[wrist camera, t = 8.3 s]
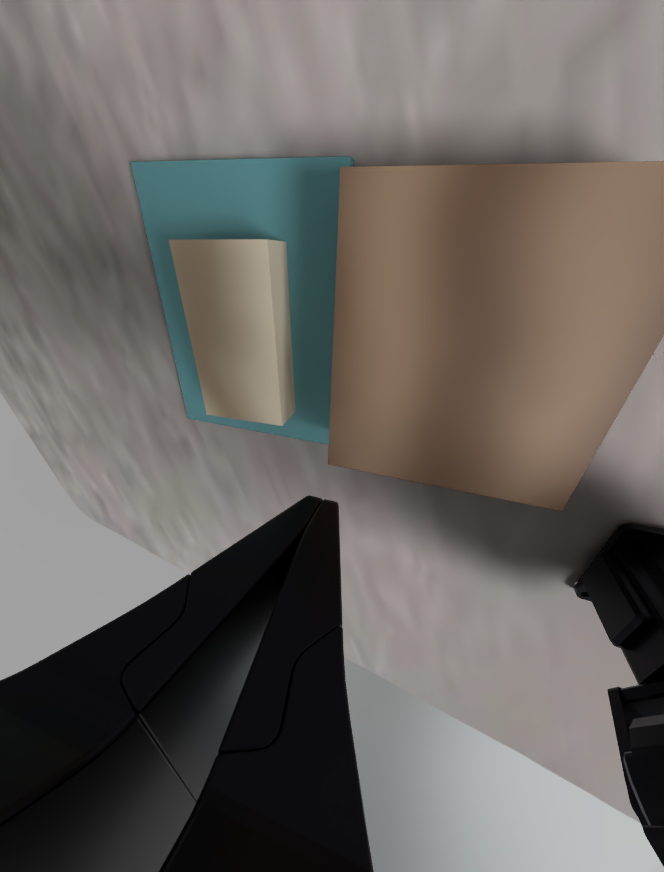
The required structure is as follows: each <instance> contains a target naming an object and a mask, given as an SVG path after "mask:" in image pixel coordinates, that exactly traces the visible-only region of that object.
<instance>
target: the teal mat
mask: <svg viewBox="0 0 664 872" xmlns="http://www.w3.org/2000/svg"><path fill="white" fill-rule="evenodd" d="M130 163H131V168H132V172H133V176H134V181H135V185H136V190H137V194H138V199H139V203H140V208H141V212H142V216H143V221H144V225H145V230H146V234H147V239H148V243H149V248H150V252H151V256H152V261H153V265H154V270H155V274H156V279H157V283H158V288H159V292H160V296H161V301H162V305H163V310H164V314H165V319H166V323H167V328H168V332H169V337H170V341H171V345H172V350H173V354H174V359H175V363H176V368H177V372H178V377H179V381H180V385H181V390H182V394H183V399H184V403H185V408H186V412H187V417H188V418H189V419H195V420H200V421H205V422H211V423H216V424H222V425H227V426H232V427H238V428H243V429H248V430H254V431H259V432H264V433H270V434H275V435H280V436H286V437H291V438H296V439H302V440H307V441H312V442H318V443H323V444H328V445H329V430H330V406H331V382H332V358H333V334H334V310H335V286H336V262H337V238H338V214H339V190H340V167H354V160H353V158H352V157H351V156H341V157H302V158H262V159H223V160H184V161H145V162H130ZM223 239H269V240H277V241H285V242H286V250H287V268H288V286H289V304H290V322H291V340H292V358H293V376H294V394H295V413H294V414H293V415H292V416H291V417H290V418H289V419H288V420H287V421H286V423H285V424H284V425H283V426H279V425H272V424H266V423H259V422H252V421H246V420H239V419H232V418H226V417H219V416H212V415H207V413H206V409H205V404H204V400H203V395H202V390H201V386H200V381H199V377H198V372H197V367H196V363H195V358H194V354H193V349H192V344H191V340H190V335H189V331H188V326H187V322H186V317H185V312H184V308H183V303H182V299H181V294H180V289H179V285H178V280H177V276H176V271H175V266H174V262H173V257H172V253H171V248H170V244H169V240H223Z"/></svg>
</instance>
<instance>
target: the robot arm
mask: <svg viewBox="0 0 664 872" xmlns="http://www.w3.org/2000/svg"><path fill="white" fill-rule="evenodd" d="M630 532H632V533H630ZM627 533H629V534H627ZM574 590H575V592H576V595H577V596H578V597H579V598H581V599H585V600H589V601H592V603H593V605H594V607H595V609H596V611H597V614H598V616H599V618H600V620H601V622H602V624H603V626H604V629H605V631H606V633H607V635H608V637H609V639H610V641H611V642H612V644H613V645H614V646H616V647H619V648H621V649H622V651H623V653H624V655H625V657H626V659H627V662H628V664H629V666H630V668H631V670H632V672H633V674H634V676H635V678H636V680H637V682H638V684H639V685H637V686H632V687H627V688H623V689H622V688H620V687H616V688H611V689H608V695H609V700H610V705H611V710H612V716H613V721H614V726H615V731H616V736H617V741H618V746H619V751H620V757H621V762H622V767H623V772H624V777H625V781H626V785H627V789H628V794H629V799H630V803H631V806H632V808H633V810H634V811H635V813H636V815H637V816H638V818H639V820H640V822H641V824H642V826H643V830H644V833H645V835H646V837H647V839H648V840H649V842H650V844H651V846H652V847H653V849H654V851H655V852H656V854H657V856H658V857H659V859H660V861H661V863H662V864H663V866H664V530H660V529H655V528H650V527H645V526H640V525H635V524H624V525H621V526H619V527H618V528H617V530H616V531H615V532H614V534H613V535H612V536H611V538H610V539H609V541H608V542H607V543H606V545H605V546H604V547H603V549H602V550H601V551H600V553H599V554H598V555H597V557H596V558H595V559H594V561H593V562H592V564H591V565H590V566H589V568H588V569H587V570H586V572H585V573H584V575H583V576H582V577H581V579H580V580H579V581H578V583H577V584H576V586H575V587H574ZM0 872H374V871H373V866H372V859H371V853H370V847H369V841H368V835H367V828H366V821H365V814H364V808H363V801H362V795H361V788H360V782H359V774H358V768H357V761H356V754H355V749H354V741H353V735H352V728H351V721H350V714H349V705H348V698H347V689H346V681H345V668H344V652H343V628H342V599H341V568H340V537H339V506H338V503H337V502H334V501H330V500H322V499H321V498H318V497H313V496H306V497H305V498H303V499H302V500H300V501H299V502H297V503H296V504H294V505H293V506H291V507H290V508H288V509H287V510H285V511H283V512H282V513H280V514H279V515H277V516H276V517H274V518H273V519H271V520H270V521H268V522H267V523H265V524H264V525H262V526H261V527H259V528H258V529H256V530H255V531H253V532H252V533H250V534H249V535H247V536H246V537H244V538H243V539H241V540H240V541H238V542H237V543H235V544H234V545H232V546H231V547H229V548H227V549H226V550H224V551H223V552H221V553H220V554H218V555H217V556H215V557H214V558H212V559H211V560H209V561H208V562H206V563H205V564H203V565H202V566H200V567H199V568H197V569H196V570H194V571H193V572H192V573H191V575H186V576H185V577H183V578H182V579H180V580H179V581H177V582H176V583H174V584H173V585H171V586H170V587H168V588H167V589H165V590H163V591H162V592H160V593H159V594H157V595H155V596H154V597H152V598H151V599H149V600H147V601H146V602H144V603H142V604H141V605H139V606H137V607H136V608H134V609H132V610H130V611H129V612H127V613H126V614H123V615H122V616H120V617H118V618H117V619H115V620H113V621H111V622H109V623H108V624H106V625H104V626H102V627H101V628H99V629H97V630H95V631H93V632H91V633H90V634H88V635H86V636H84V637H83V638H81V639H79V640H77V641H75V642H74V643H72V644H70V645H68V646H66V647H65V648H63V649H61V650H59V651H58V652H56V653H54V654H52V655H50V656H48V657H47V658H45V659H43V660H41V661H39V662H38V663H36V664H34V665H32V666H30V667H28V668H26V669H24V670H23V671H20V672H18V673H16V674H14V675H12V676H10V677H7V678H5V679H3V680H0Z"/></svg>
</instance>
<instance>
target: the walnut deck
mask: <svg viewBox="0 0 664 872" xmlns="http://www.w3.org/2000/svg"><path fill="white" fill-rule="evenodd" d="M663 336H664V161H645V162H589V163H533V164H477V165H421V166H365V167H340V190H339V214H338V238H337V262H336V286H335V310H334V334H333V358H332V382H331V406H330V430H329V454H328V464H330V465H335V466H340V467H345V468H350V469H355V470H360V471H365V472H370V473H375V474H380V475H385V476H390V477H394V478H399V479H404V480H409V481H414V482H419V483H424V484H429V485H434V486H439V487H444V488H449V489H454V490H459V491H464V492H469V493H474V494H479V495H484V496H489V497H494V498H499V499H504V500H509V501H514V502H519V503H524V504H528V505H533V506H538V507H543V508H548V509H553V510H558V511H562V510H563V509H564V507H565V505H566V503H567V502H568V500H569V498H570V496H571V495H572V493H573V491H574V490H575V488H576V486H577V484H578V483H579V481H580V479H581V477H582V476H583V474H584V472H585V471H586V469H587V467H588V465H589V464H590V462H591V460H592V458H593V457H594V455H595V453H596V451H597V450H598V448H599V446H600V445H601V443H602V441H603V439H604V438H605V436H606V434H607V432H608V431H609V429H610V427H611V426H612V424H613V422H614V420H615V419H616V417H617V415H618V413H619V412H620V410H621V408H622V406H623V405H624V403H625V401H626V400H627V398H628V396H629V394H630V393H631V391H632V389H633V387H634V386H635V384H636V382H637V381H638V379H639V377H640V375H641V374H642V372H643V370H644V368H645V367H646V365H647V363H648V362H649V360H650V358H651V356H652V355H653V353H654V351H655V349H656V348H657V346H658V344H659V342H660V341H661V339H662V337H663Z"/></svg>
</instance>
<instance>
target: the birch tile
mask: <svg viewBox="0 0 664 872" xmlns="http://www.w3.org/2000/svg"><path fill="white" fill-rule="evenodd" d="M169 244H170V248H171V253H172V257H173V262H174V266H175V271H176V276H177V280H178V285H179V289H180V294H181V299H182V303H183V308H184V312H185V317H186V322H187V326H188V331H189V335H190V340H191V344H192V349H193V354H194V358H195V363H196V367H197V372H198V377H199V381H200V386H201V390H202V395H203V400H204V404H205V409H206V413H207V415H212V416H219V417H226V418H232V419H239V420H246V421H252V422H259V423H266V424H272V425H279V426H283V425H284V424H285V423H286V421H287V420H288V419H289V418H290V417H291V416H292V415H293V414H294V413H295V394H294V376H293V358H292V340H291V322H290V304H289V286H288V268H287V250H286V242H285V241H277V240H269V239H223V240H169Z"/></svg>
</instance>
